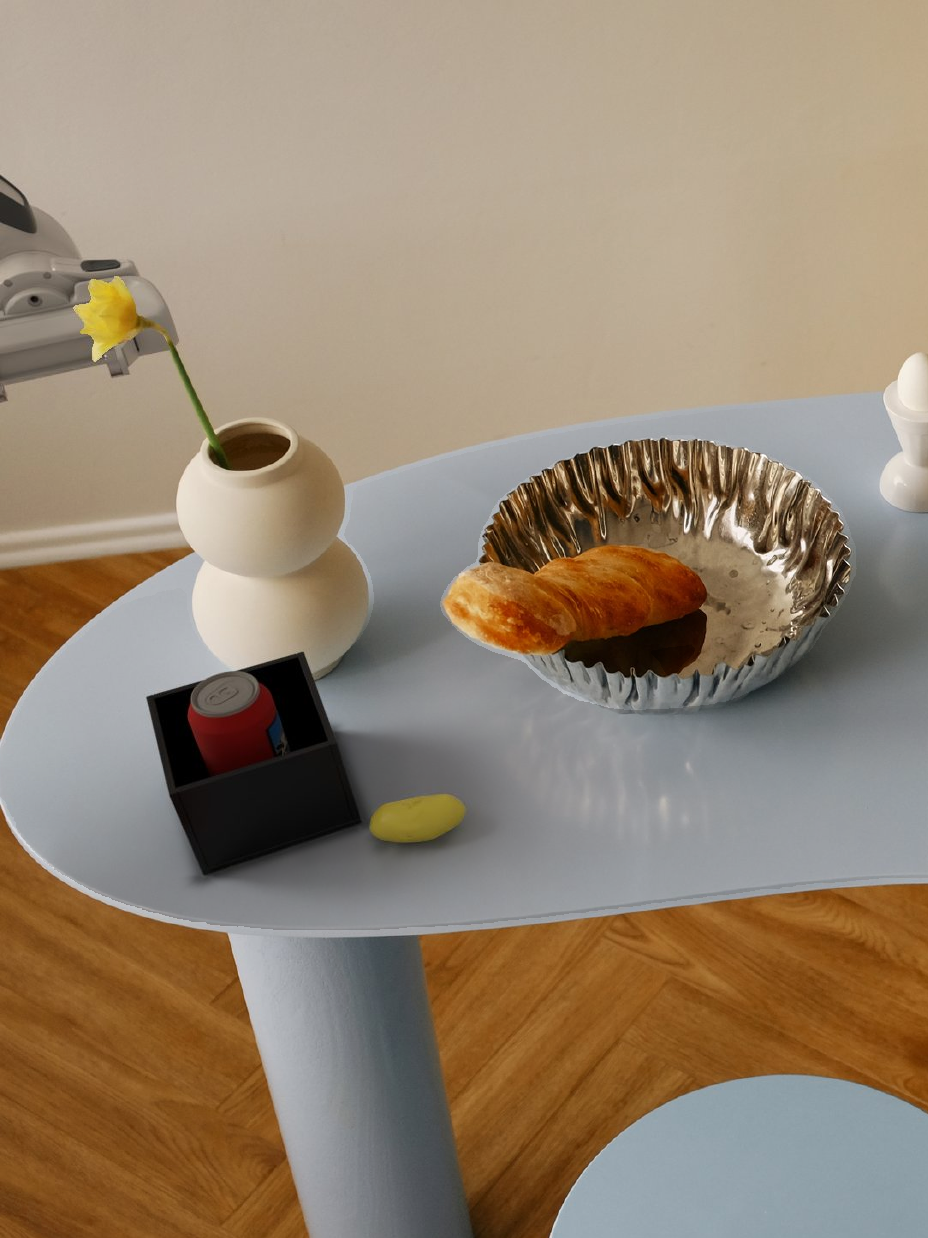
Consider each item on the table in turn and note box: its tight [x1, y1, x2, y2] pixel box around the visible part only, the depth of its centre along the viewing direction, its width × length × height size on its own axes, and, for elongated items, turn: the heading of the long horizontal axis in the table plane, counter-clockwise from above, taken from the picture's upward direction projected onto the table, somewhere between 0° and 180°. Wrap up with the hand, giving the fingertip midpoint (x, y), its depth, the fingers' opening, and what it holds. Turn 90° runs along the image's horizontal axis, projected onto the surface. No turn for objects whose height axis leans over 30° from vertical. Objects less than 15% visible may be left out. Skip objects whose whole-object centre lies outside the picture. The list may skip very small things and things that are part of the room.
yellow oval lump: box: [369, 793, 467, 844], centre depth 128 cm, size 4×8×4 cm, turn 100°
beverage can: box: [188, 670, 291, 777], centre depth 128 cm, size 7×7×12 cm
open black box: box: [145, 651, 363, 876], centre depth 129 cm, size 13×13×10 cm
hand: (57, 382), depth 123 cm, fingers open, 8 cm apart
